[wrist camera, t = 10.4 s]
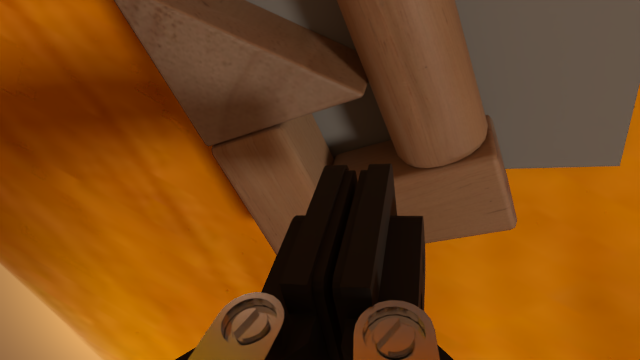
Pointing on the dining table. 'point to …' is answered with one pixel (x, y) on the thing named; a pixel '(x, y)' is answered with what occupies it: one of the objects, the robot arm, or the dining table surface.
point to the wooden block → (327, 91)
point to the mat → (517, 77)
